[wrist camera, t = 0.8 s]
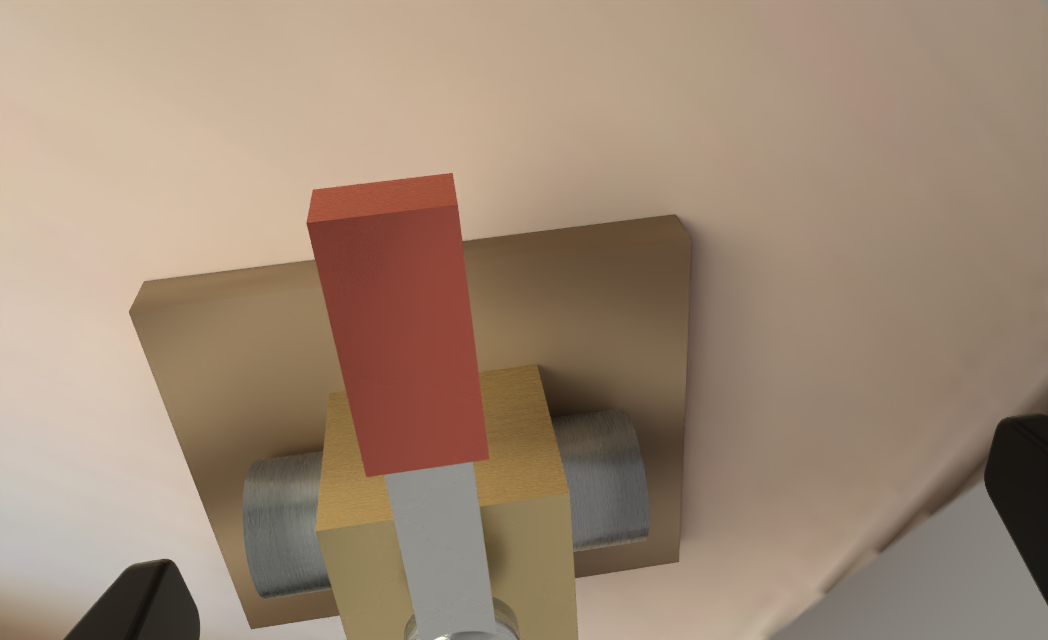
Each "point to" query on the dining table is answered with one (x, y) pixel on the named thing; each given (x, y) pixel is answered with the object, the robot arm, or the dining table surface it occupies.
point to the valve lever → (414, 386)
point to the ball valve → (505, 504)
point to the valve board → (501, 342)
